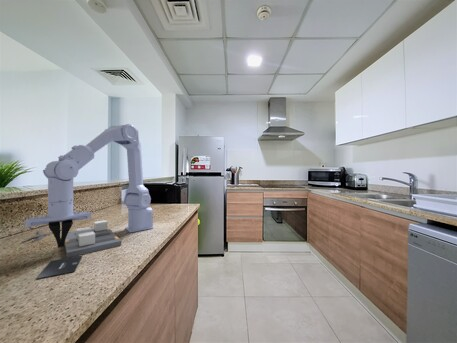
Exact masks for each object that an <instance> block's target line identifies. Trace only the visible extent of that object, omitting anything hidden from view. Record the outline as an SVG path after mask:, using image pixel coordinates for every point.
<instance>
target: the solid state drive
mask: <svg viewBox="0 0 457 343" xmlns="http://www.w3.org/2000/svg"><path fill="white" fill-rule="evenodd" d="M82 258H83V255H77V256H73V257H68V258H67V257H66V258H58V259H54V260H51V261H49V263H48V264H47V265H46V266H45V268H43V270H42V271H41V272H40V273H39V274H38V276H37V277H36V280H37V281H38V280H41V279H42V280H43V279H47V278H52V277H58V276H62V275H68V274H73V273H76V270H77V269H78V267H79V264H80V262H81V261H82Z"/></svg>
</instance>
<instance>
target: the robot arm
mask: <svg viewBox="0 0 457 343" xmlns="http://www.w3.org/2000/svg"><path fill="white" fill-rule="evenodd" d="M139 138H140V137H139V130H138V129H137V128H136V127H135V126H134V125H133V124H131V123H126V124H121V125H112V126H111V125H110V126H109V127H108V128H106V129H104V131H102V132H101V133H100V134H99V135H97V136H96V137H95V138H94V139H92V140H91V141H90V142H88V143H87V144H85V145H84V144H79V145H72V147H71V150H70V151H68V152H67V153H66V154H64V155H62V154H61V155H59V156H58V160H55V161H54V160H53V161H51V162H48V163H47V164H46V165H45V168H44V169H43V170H42V173H43V175H44V176H45V177H46V179H47V215H44V216H39V217H32V218H31V217H30V218H26V219H25V228H30V227H35V226H40V225H48V229H49V230H50V231H51V232H52V234H53V236H54V238H55V241H56V243H57V249H58V248H64V247H65V239H66V237H67V234H68V232H70V230H71V228H72V226H73V223H74V222H73V221H79V220H89V219H92V212H91V211H83V212H81V211H80V212H74V179H75V178H76V177H77V176H78V175H79V170H81V169H82V168H84V167H85V166H86V165H87V164H88V163H90V162H91V161H92V160H93V159H94V158H95V153H96V152H98V151H100V150H101V149H102V148H104V147H105V146H107V145H109V144H110V143H111V142H113V143H116V144H118V145H120V146H122V147H123V148H124V149H126V156H127V157H126V159H127V175H128V187H127V188H126V190H125V194H124V198H123V202H124V205H125V206H126V209H127V210H128V211H127V215H128V216H127V226H125V227H124V229H125V230H126V231H127V232H129V233H134V232H140V231H145V230H149V229H154V212H153V208H152V207H151V206H150V204H151V200H152V198H151V195H150V192H149V189H148V188H147V187H145V185H144V176H143V175H144V174H143V173H144V172H143V159H142V158H143V155H142V145H141V142H140V139H139ZM60 230H62V231H60Z"/></svg>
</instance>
